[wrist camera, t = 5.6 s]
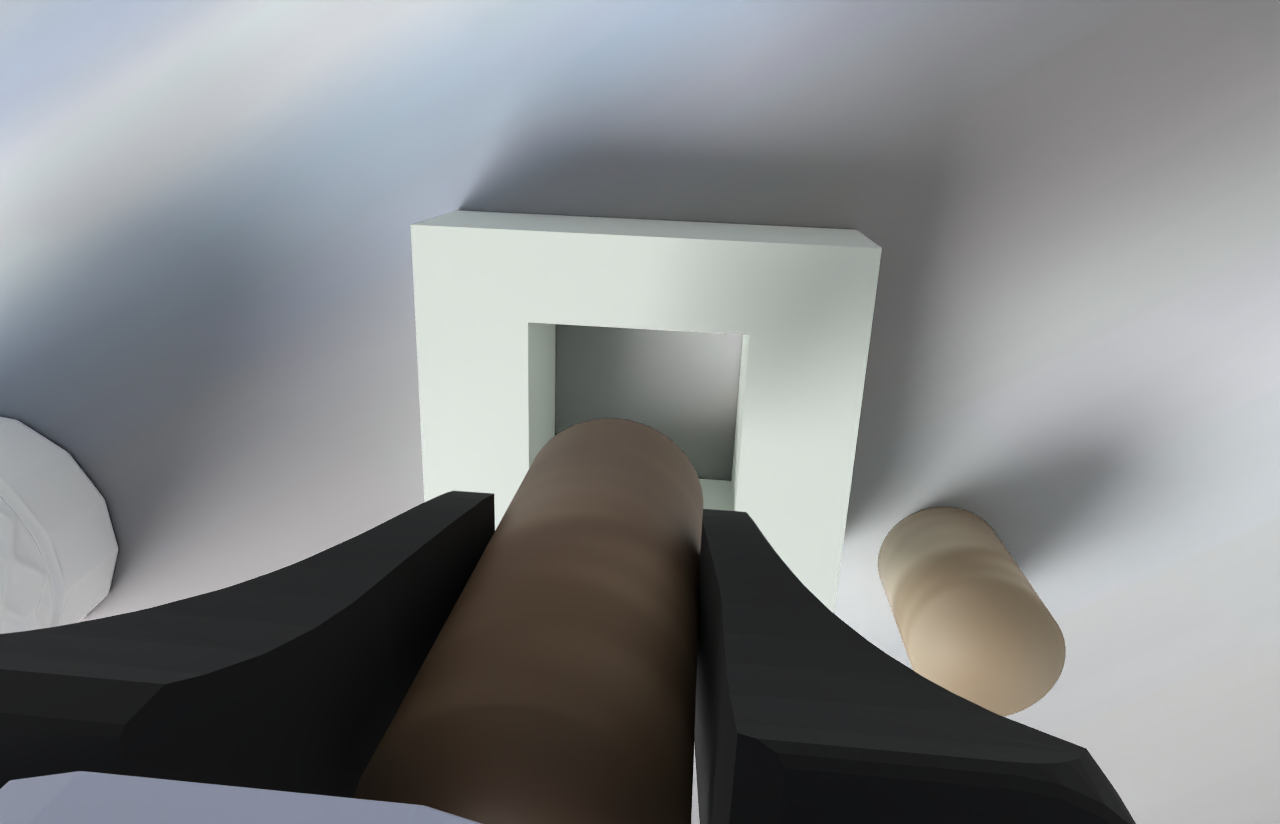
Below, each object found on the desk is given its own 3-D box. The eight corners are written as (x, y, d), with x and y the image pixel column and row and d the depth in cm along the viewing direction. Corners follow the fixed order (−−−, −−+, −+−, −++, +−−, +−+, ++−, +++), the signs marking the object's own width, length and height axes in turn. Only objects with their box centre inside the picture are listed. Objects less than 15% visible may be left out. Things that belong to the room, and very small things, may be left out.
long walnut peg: (709, 425, 13) (700, 721, 7) (697, 589, 14) (680, 988, 8) (523, 412, 14) (338, 687, 7) (524, 574, 15) (364, 951, 8)
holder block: (856, 229, 18) (882, 247, 16) (817, 553, 21) (833, 619, 18) (456, 210, 19) (410, 224, 16) (466, 526, 22) (428, 586, 19)
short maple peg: (1012, 511, 20) (1079, 599, 16) (990, 618, 21) (1049, 725, 17) (886, 502, 20) (924, 587, 17) (870, 609, 21) (903, 711, 18)
